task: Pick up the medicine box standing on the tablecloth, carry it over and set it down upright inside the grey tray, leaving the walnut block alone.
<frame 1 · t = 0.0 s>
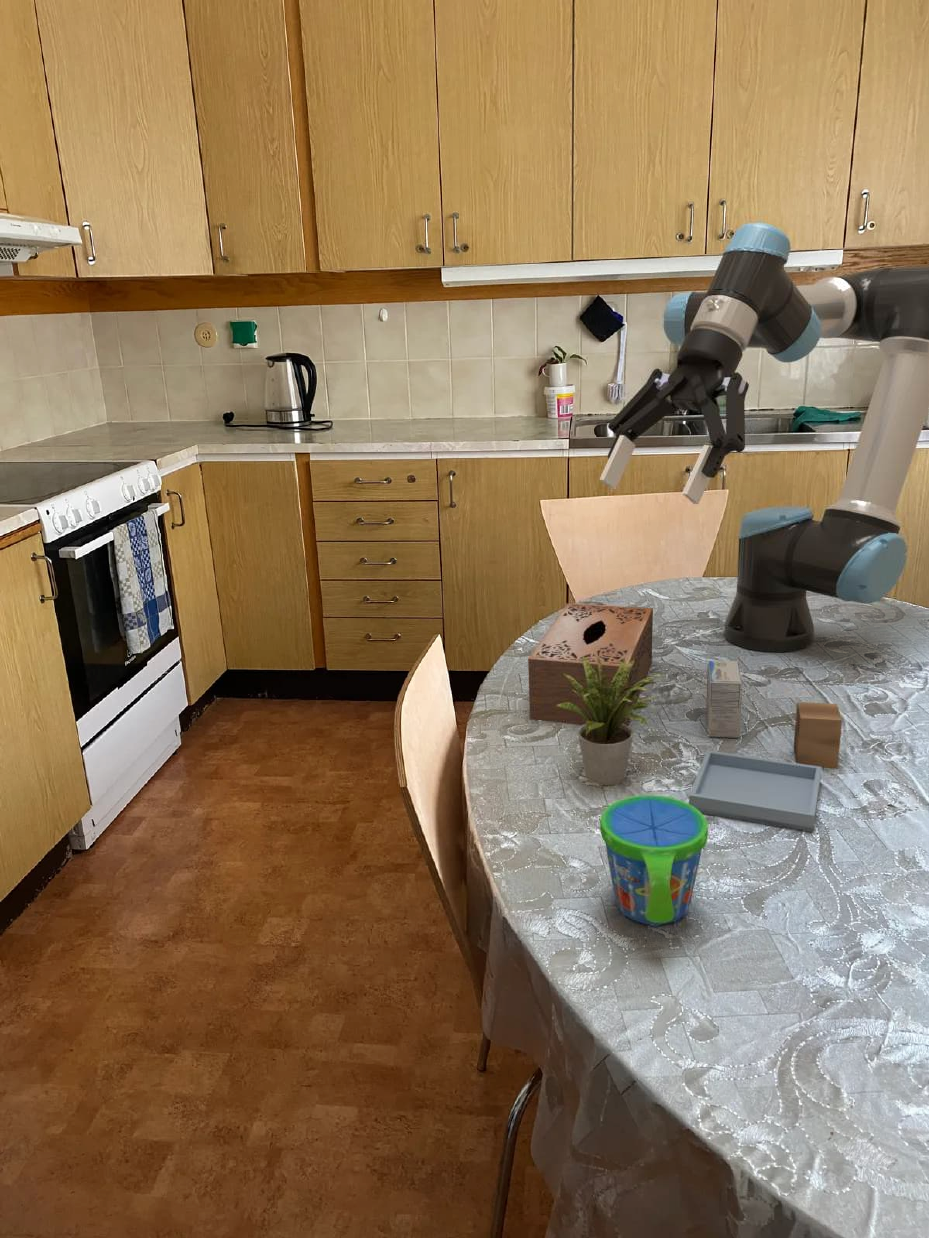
hand: (646, 491, 118), 36 cm above the table, tool tilted 35°, fingers open, 13 cm apart
house plant: (607, 781, 122), on the table
tissue box cover: (594, 692, 149), on the table
grey tray: (755, 796, 116), on the table
walnut block: (814, 758, 125), on the table
medicine box: (722, 727, 135), on the table
snack cup: (651, 907, 97), on the table
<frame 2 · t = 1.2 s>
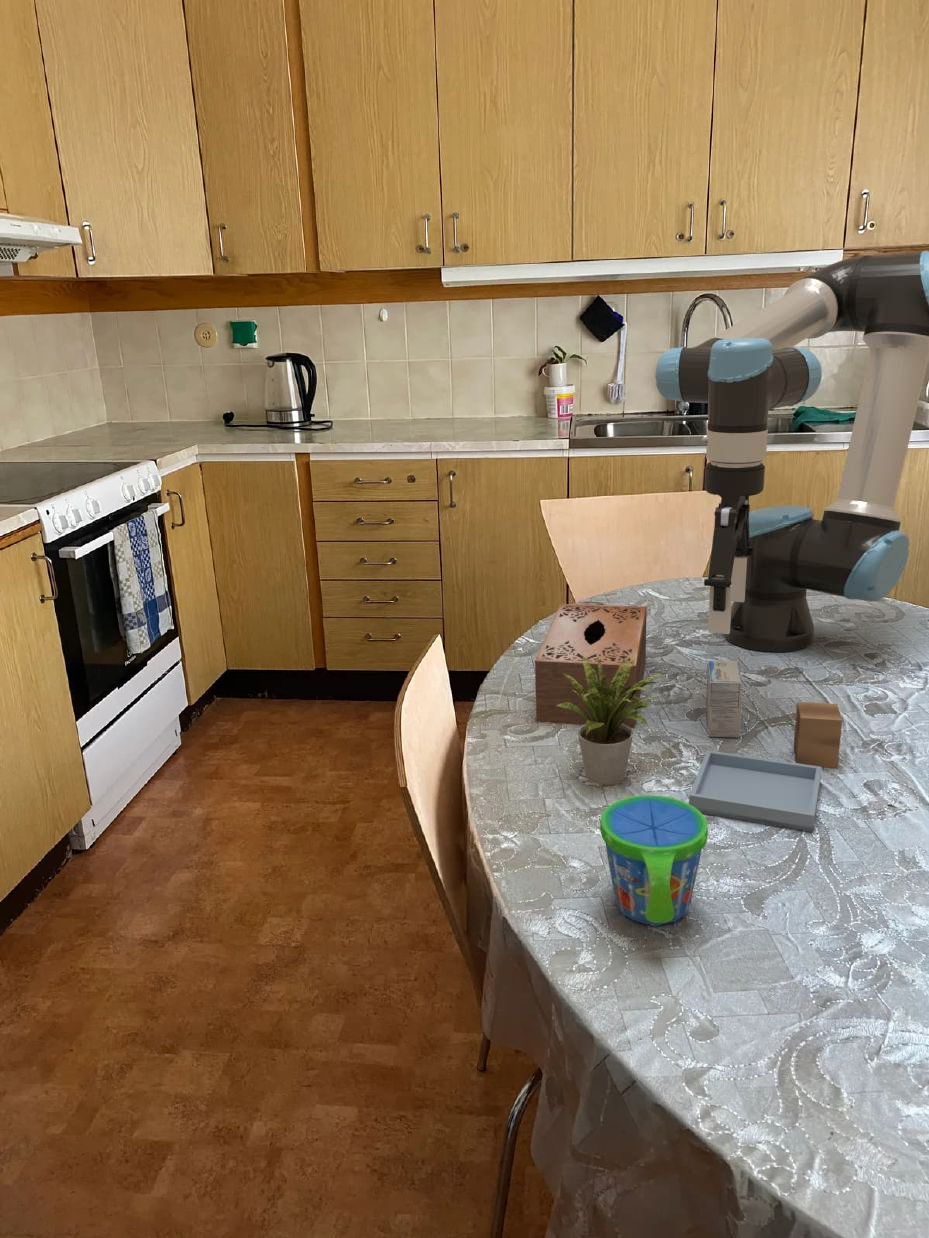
hand: (727, 616, 129), 17 cm above the table, tool pointing down, fingers open, 13 cm apart
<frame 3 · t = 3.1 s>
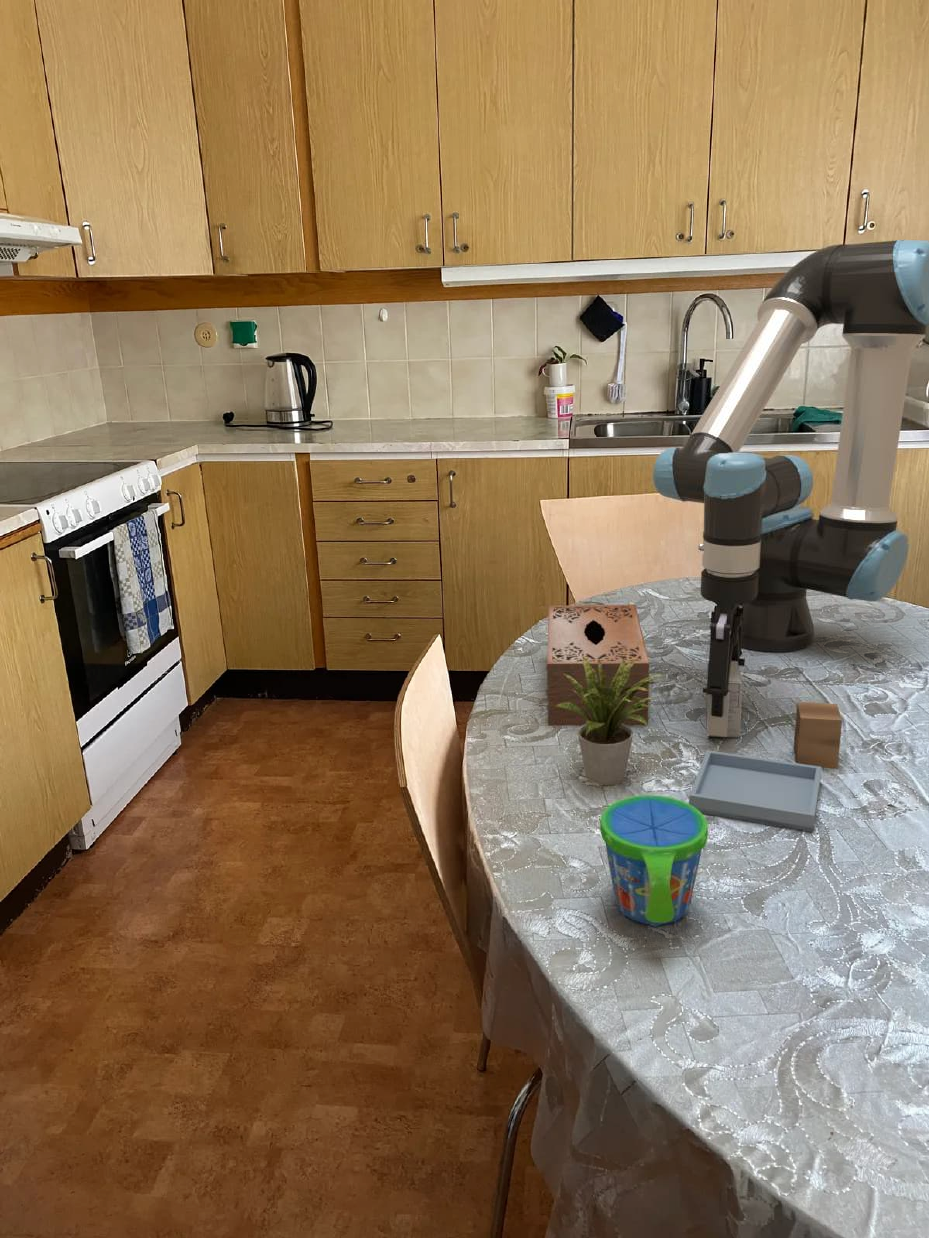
hand: (722, 720, 135), 1 cm above the table, tool pointing down, fingers closed on medicine box, 8 cm apart
medicine box: (722, 727, 135), on the table, touching gripper
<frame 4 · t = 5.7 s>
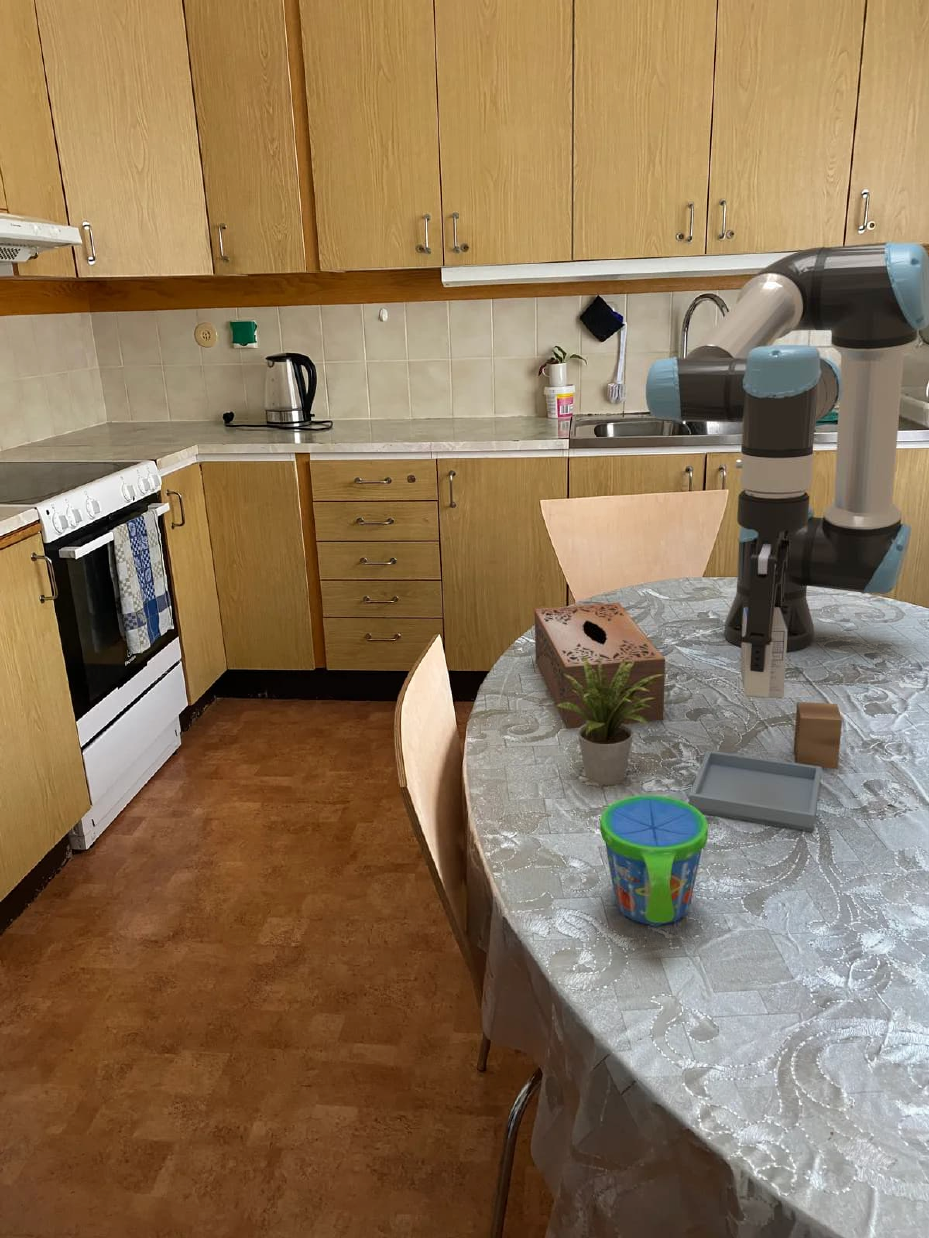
hand: (761, 679, 111), 16 cm above the table, tool pointing down, fingers closed on medicine box, 8 cm apart
medicine box: (760, 686, 112), point 15 cm above the table, touching gripper
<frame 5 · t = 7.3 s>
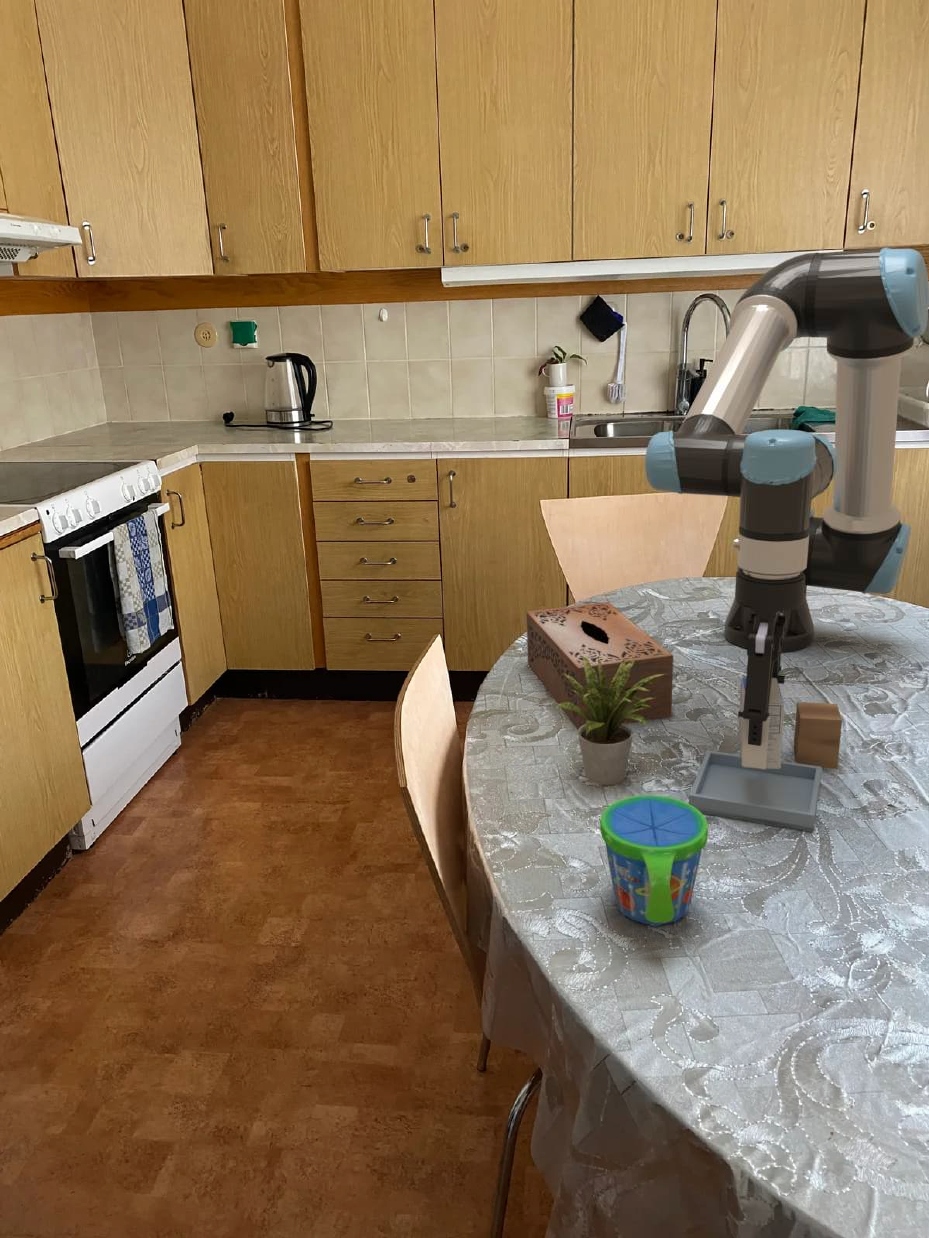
hand: (758, 748, 114), 7 cm above the table, tool pointing down, fingers closed on medicine box, 8 cm apart
medicine box: (757, 755, 114), point 6 cm above the table, touching gripper
when the fingers open (3 cm above the table, at t = 8.5 s): medicine box drops 2 cm, resting on grey tray.
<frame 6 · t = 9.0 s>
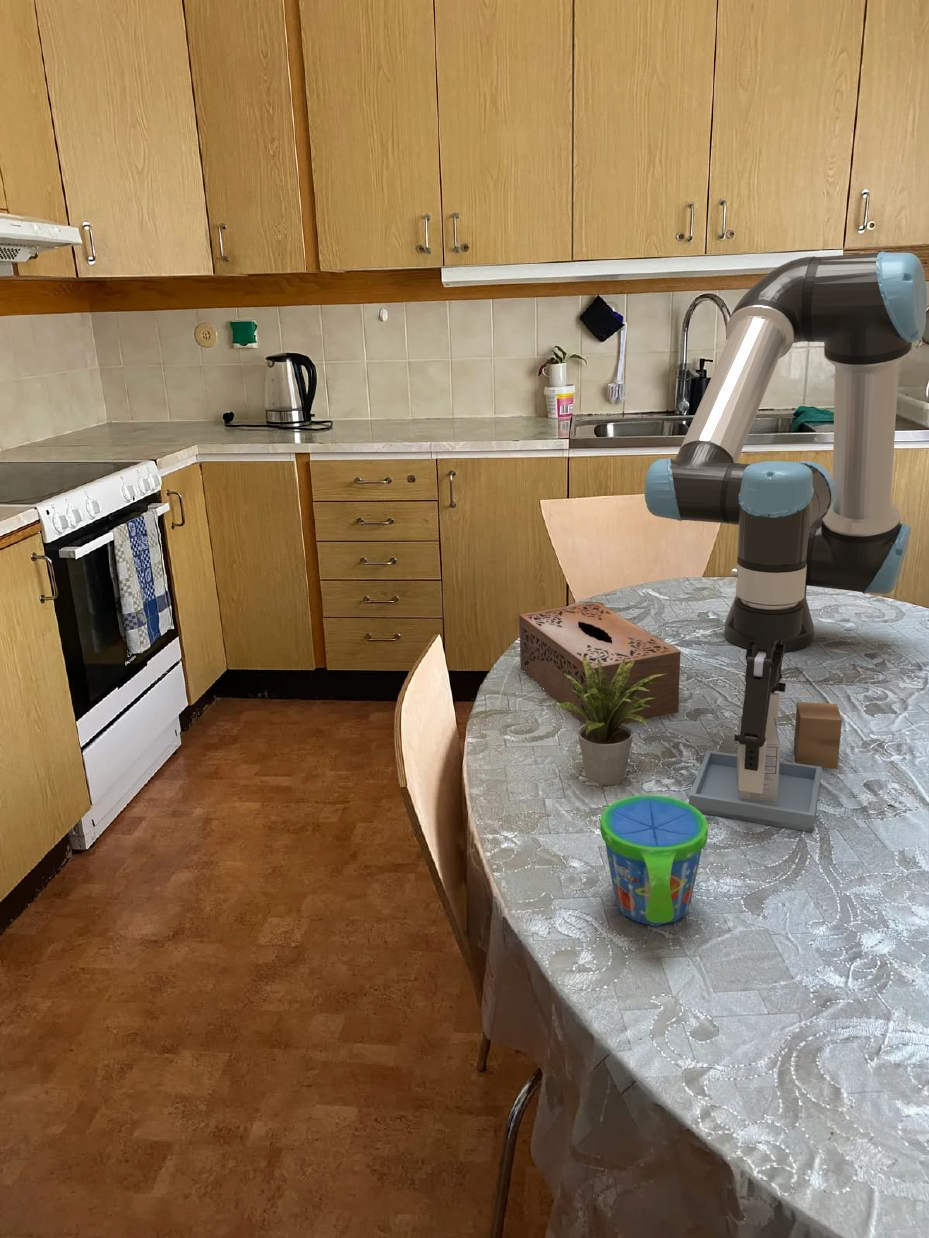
hand: (758, 764, 115), 4 cm above the table, tool pointing down, fingers open, 13 cm apart
medicine box: (755, 793, 116), resting on grey tray
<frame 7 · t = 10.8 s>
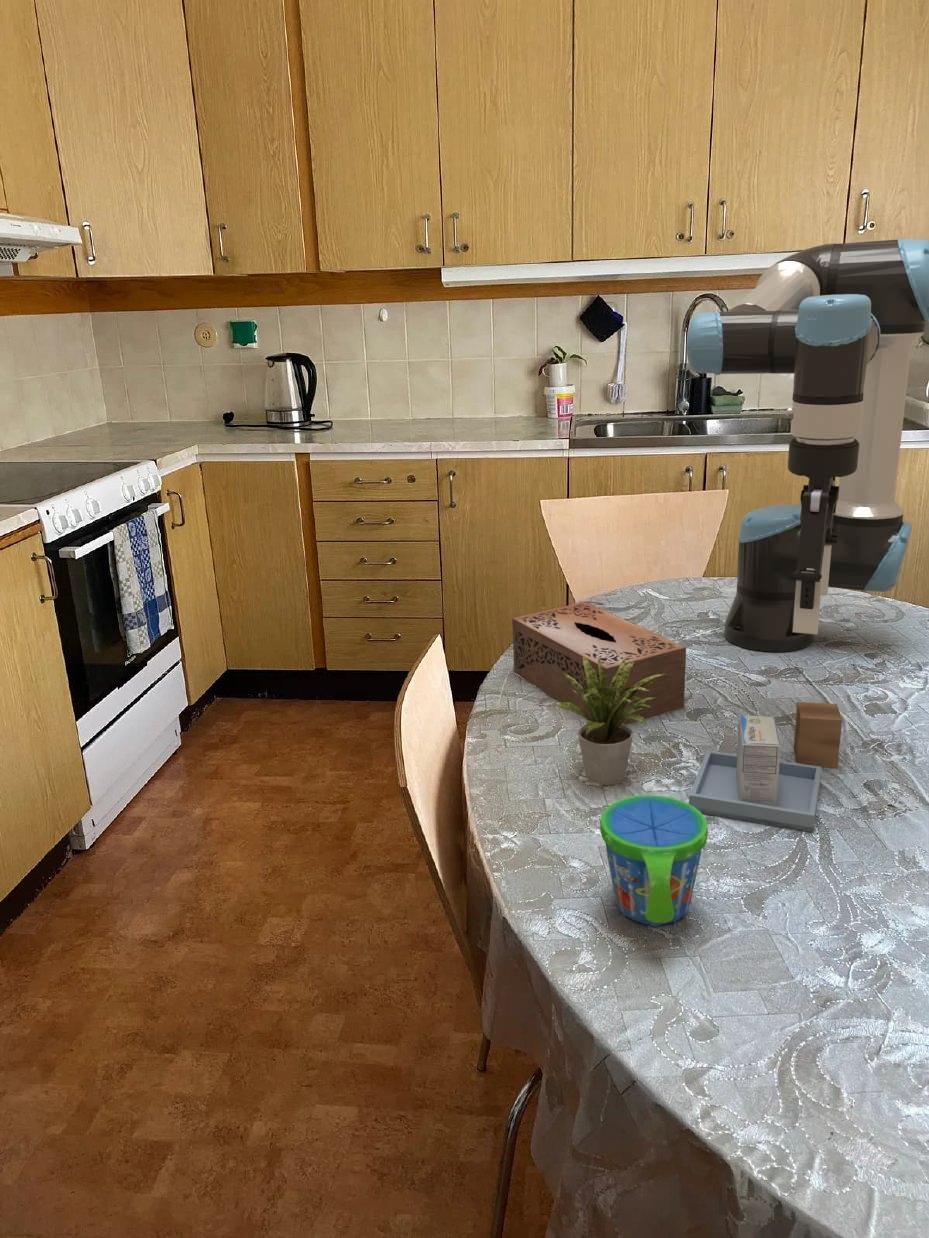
hand: (810, 612, 115), 22 cm above the table, tool pointing down, fingers open, 13 cm apart
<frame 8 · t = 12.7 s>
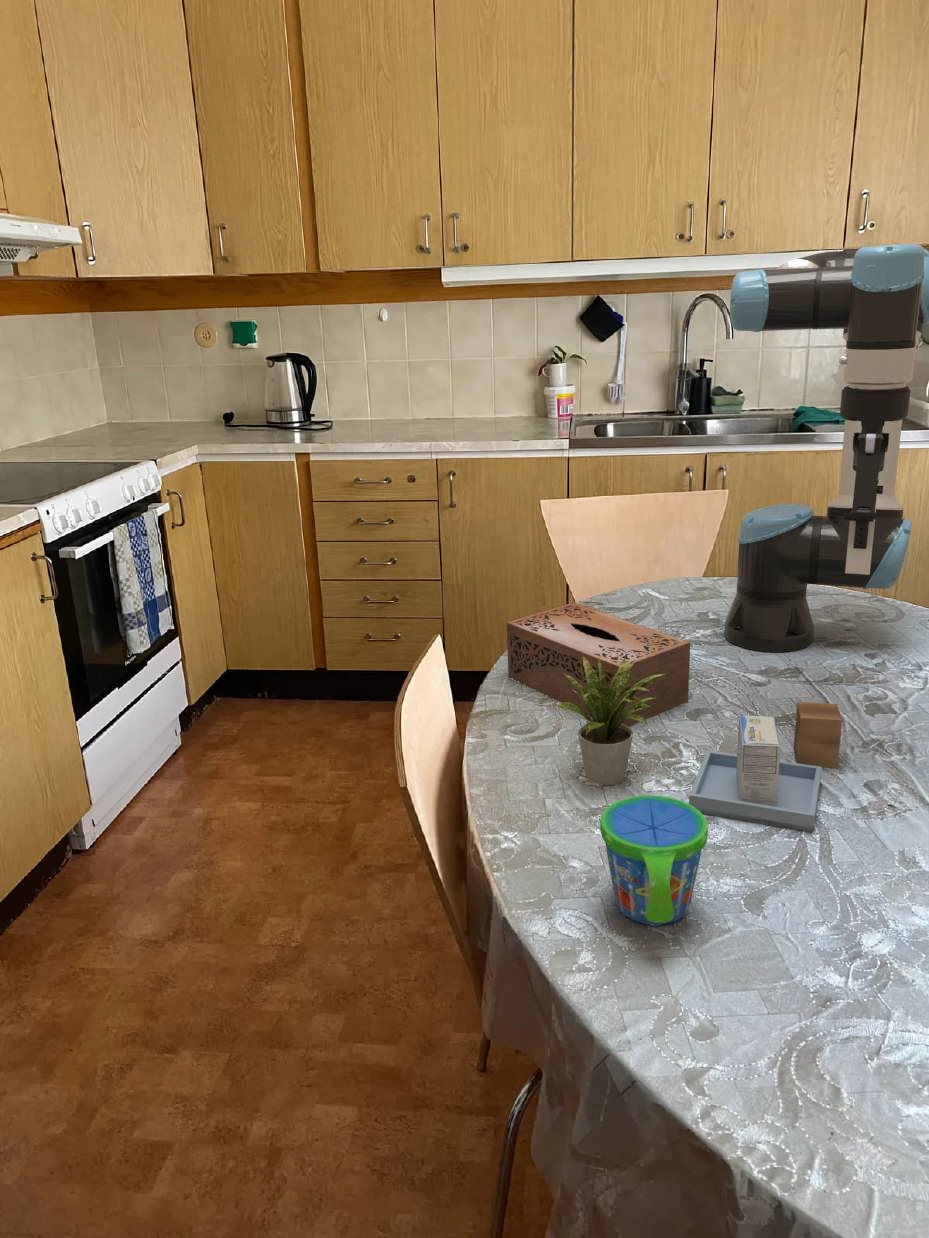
hand: (859, 558, 118), 27 cm above the table, tool pointing down, fingers open, 13 cm apart
at the end: medicine box inside the target area on the grey tray (0.1 cm from its centre), point 0.4 cm above the grey tray's base; medicine box tilted 0°; the gripper is holding nothing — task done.
